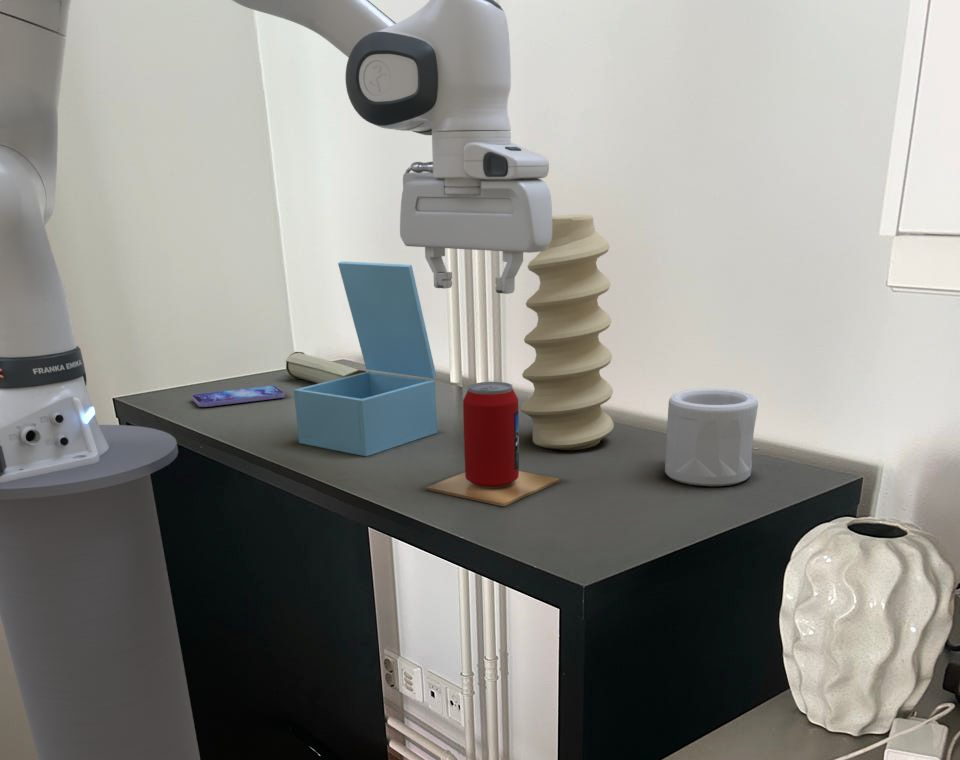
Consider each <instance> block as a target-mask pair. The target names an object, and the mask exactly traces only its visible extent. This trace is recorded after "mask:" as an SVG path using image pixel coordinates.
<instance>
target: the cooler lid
mask: <svg viewBox="0 0 960 760" xmlns="http://www.w3.org/2000/svg"><path fill="white" fill-rule="evenodd" d="M337 266H338V268H339V273H340V277H341V280H342V283H343V287H344V290H345V295H346V299H347V302H348V306H349V310H350V313H351V317H352V322H353V325H354V329H355V332H356V336H357V339H358V343H359V347H360V351H361V354H362V359H363V362H364V366H365V369H366V370H367V371H374V372H384V373H389V374H390V373H392V374H399V375H404V376H405V375H406V376H412V377H419V378H420V377H421V378H428V379H435V378H437V372H436V367H435V363H434V359H433V355H432V350H431V345H430V341H429V335H428V332H427V328H426V323H425V319H424V313H423V309H422V305H421V301H420V296H419V292H418V287H417V282H416V278H415V274H414V269H413V264H401V263H382V262H380V263H379V262H363V261H362V262H361V261H345V260H344V261H339V262H338V263H337Z"/></svg>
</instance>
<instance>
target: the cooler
mask: <svg viewBox="0 0 960 760" xmlns="http://www.w3.org/2000/svg"><path fill="white" fill-rule="evenodd" d="M293 398H294V407H295V416H296V427H297V436H298V443H299V444H302V445H307V446H311V447H316V448H322V449H328V450H333V451H337V452H343V453H347V454H351V455H352V454H353V455H357V456H362V457H369V456H372V455H375V454H377V453H381V452H384V451H387V450H390V449H393V448H396V447H398V446H399V447H400V446H402V445H404V444H408V443H411V442H414V441H418V440H419V439H422V438H426V437H429V436H431V435H432V436H433V435H434V434H438V417H437V394H436V381H435V380H434V379H426V378H420V377H419V378H418V377H413V376H405V375H397V374H390V373H382V372H376V371H366V372H364V373H360V374H356V375H352V376H348V377H344V378H340V379H335V380H331V381H327V382H323V383H319V384H318V383H315V384H312V385H307V386H304V387H300V388H295V389H293Z"/></svg>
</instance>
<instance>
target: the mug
mask: <svg viewBox="0 0 960 760" xmlns="http://www.w3.org/2000/svg"><path fill="white" fill-rule="evenodd" d="M758 406H759V402H758V399H757V397H755V395H753V394H750V393H748V392H746V391H745V392H744V391H741V390H736V389H729V388H728V389H727V388H693V389H685V390H682V391H678V392H676V393H674V394H672V395H671V396H670V397H669V399H668V407H667V425H666V451H665V462H664V473H665V474H666V475H667V476H668V477H669V478H670V479H671V480H673V481H674V482H675V481H676V482H678V483H681V484H686V485H691V486H700V487H723V486H725V487H726V486H732V485H736V484H740V483H743V482H744V481H746V480H747V479H748V478H750V476H751V474H752V468H753V442H754V433H755V427H756V421H757V415H758V408H759V407H758Z"/></svg>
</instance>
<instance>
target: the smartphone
mask: <svg viewBox="0 0 960 760" xmlns="http://www.w3.org/2000/svg"><path fill="white" fill-rule="evenodd" d="M284 397H285V392H284V391H283V390H282V389H280V388H279V387H277V386H276V385H274V384H273V385H270V384H269V385H261V386H253V387H244V388H234V389H227V390H218V391H210V392H200V393H194V394H192V395H191V400H192V401H193V402H194V403H195V405H197V406H198V407H200V408H208V407H216V406H224V405H232V404H233V405H234V404H240V403H241V404H242V403H250V402H251V403H252V402H259V401H266V400H274V399H275V400H276V399H282V398H284Z"/></svg>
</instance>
